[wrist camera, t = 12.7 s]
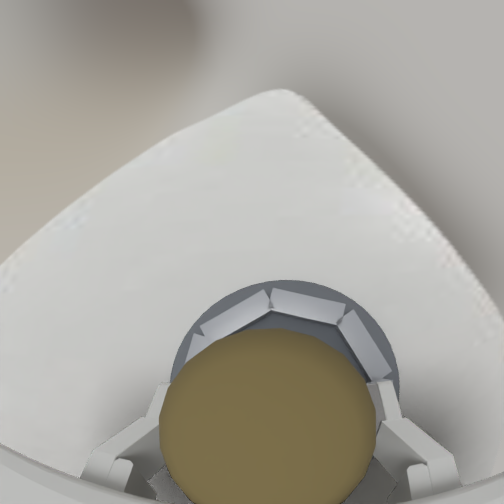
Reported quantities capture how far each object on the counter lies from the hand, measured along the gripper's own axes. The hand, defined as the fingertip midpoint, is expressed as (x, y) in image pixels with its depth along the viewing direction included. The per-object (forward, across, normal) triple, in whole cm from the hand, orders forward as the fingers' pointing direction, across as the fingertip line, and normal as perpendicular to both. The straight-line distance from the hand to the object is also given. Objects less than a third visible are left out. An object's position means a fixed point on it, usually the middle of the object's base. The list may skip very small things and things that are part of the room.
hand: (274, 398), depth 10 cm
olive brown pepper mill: (+4, 0, -5) cm, 6 cm away
